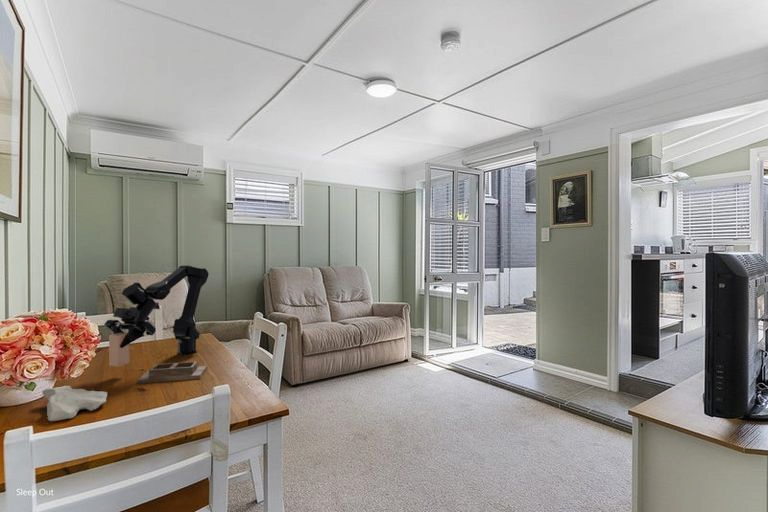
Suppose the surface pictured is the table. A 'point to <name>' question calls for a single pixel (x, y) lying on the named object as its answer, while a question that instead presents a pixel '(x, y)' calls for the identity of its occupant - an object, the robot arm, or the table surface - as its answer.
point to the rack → (173, 372)
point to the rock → (71, 401)
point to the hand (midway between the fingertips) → (115, 346)
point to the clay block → (118, 350)
